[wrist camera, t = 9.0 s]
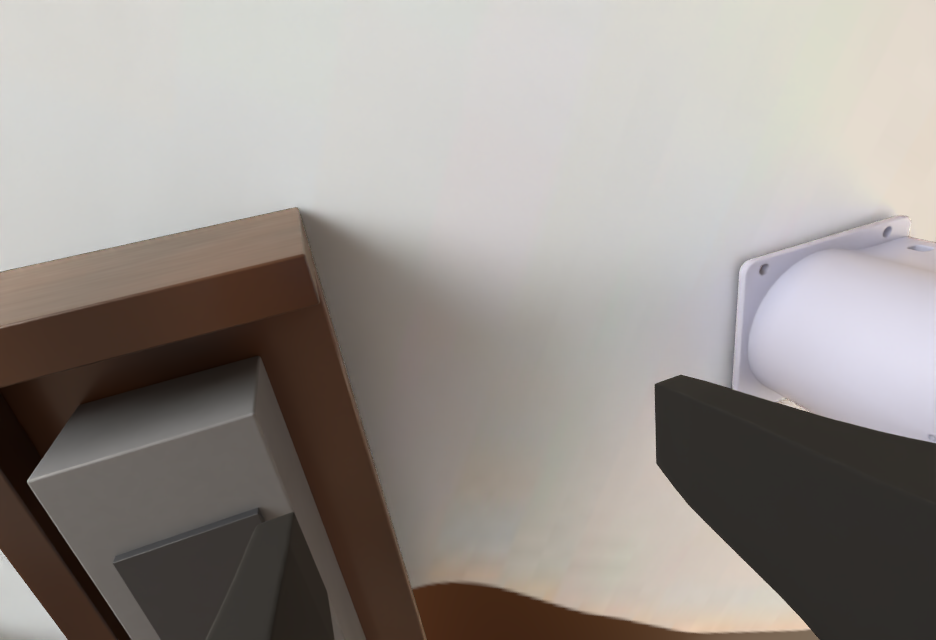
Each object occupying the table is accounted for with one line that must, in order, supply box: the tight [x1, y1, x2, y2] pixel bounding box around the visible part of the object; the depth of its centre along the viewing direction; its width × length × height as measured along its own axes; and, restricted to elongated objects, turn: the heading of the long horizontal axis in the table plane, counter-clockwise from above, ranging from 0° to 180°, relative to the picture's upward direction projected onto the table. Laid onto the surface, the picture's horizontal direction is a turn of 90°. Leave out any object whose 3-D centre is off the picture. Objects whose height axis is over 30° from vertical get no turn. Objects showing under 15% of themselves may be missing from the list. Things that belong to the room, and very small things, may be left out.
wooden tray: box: [0, 207, 427, 640], centre depth 17 cm, size 9×22×6 cm, turn 10°
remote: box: [27, 356, 366, 640], centre depth 16 cm, size 5×16×3 cm, turn 10°
